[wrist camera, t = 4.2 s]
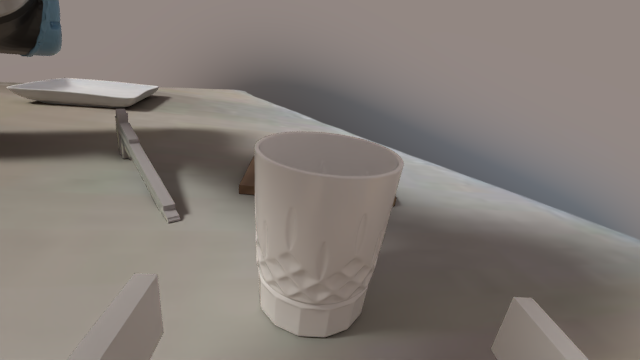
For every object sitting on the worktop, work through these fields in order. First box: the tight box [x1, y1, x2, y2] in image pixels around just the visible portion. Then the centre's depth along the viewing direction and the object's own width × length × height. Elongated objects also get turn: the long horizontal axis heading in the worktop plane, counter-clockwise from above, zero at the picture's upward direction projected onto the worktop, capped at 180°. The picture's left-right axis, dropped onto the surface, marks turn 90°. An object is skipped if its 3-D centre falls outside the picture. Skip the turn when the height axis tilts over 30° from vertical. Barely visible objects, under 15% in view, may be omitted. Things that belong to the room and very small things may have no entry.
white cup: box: [254, 132, 404, 337], centre depth 19 cm, size 8×8×10 cm
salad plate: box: [7, 78, 159, 108], centre depth 69 cm, size 21×21×3 cm
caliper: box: [115, 109, 180, 223], centre depth 33 cm, size 20×1×6 cm, turn 40°
